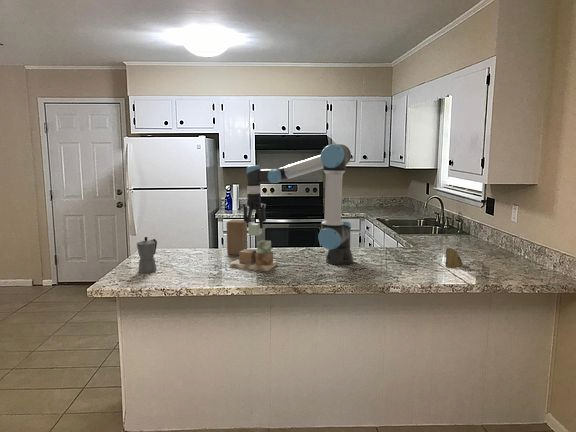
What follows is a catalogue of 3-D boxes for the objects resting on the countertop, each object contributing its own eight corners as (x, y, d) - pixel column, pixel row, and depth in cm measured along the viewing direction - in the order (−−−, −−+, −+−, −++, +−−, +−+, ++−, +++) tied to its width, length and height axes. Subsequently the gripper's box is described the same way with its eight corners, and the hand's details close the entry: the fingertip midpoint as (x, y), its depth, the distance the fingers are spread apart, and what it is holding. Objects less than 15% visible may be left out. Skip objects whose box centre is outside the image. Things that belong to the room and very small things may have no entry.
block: (242, 255, 263) (242, 222, 260) (226, 254, 265) (226, 221, 262) (247, 251, 273) (247, 219, 270) (232, 251, 275) (231, 219, 272)
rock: (460, 259, 244) (442, 256, 245) (466, 249, 238) (447, 246, 238) (463, 275, 236) (444, 272, 237) (468, 265, 230) (449, 262, 231)
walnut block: (245, 259, 245) (245, 249, 244) (256, 260, 242) (256, 250, 242) (239, 262, 238) (239, 251, 238) (251, 263, 236) (251, 252, 235)
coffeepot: (147, 275, 222) (146, 240, 220) (131, 273, 225) (129, 238, 223) (165, 267, 237) (163, 234, 234) (149, 266, 240) (148, 233, 237)
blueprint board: (276, 264, 242) (276, 261, 241) (267, 270, 230) (267, 267, 229) (240, 261, 249) (240, 257, 249) (229, 267, 238) (229, 263, 237)
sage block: (261, 233, 254) (261, 223, 254) (257, 235, 249) (257, 225, 249) (252, 233, 256) (252, 223, 256) (248, 235, 251) (248, 224, 250)
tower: (273, 262, 239) (272, 240, 237) (267, 265, 232) (267, 243, 231) (261, 261, 241) (260, 239, 240) (255, 264, 235) (255, 242, 233)
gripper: (271, 192, 250) (272, 233, 253) (242, 192, 256) (243, 231, 260) (266, 194, 243) (267, 235, 246) (236, 193, 249) (237, 234, 253)
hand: (255, 233), depth 253 cm, fingers closed on sage block, 5 cm apart
